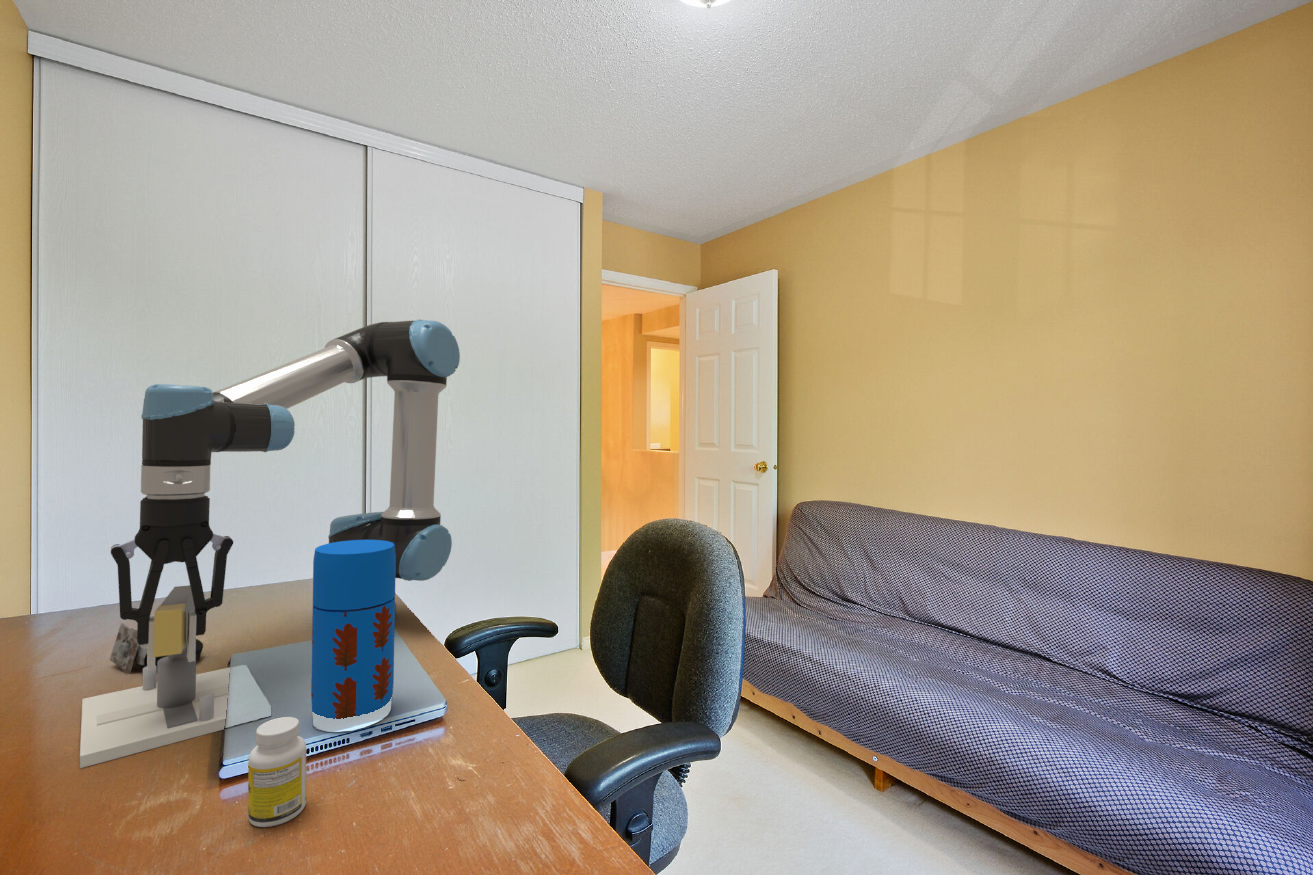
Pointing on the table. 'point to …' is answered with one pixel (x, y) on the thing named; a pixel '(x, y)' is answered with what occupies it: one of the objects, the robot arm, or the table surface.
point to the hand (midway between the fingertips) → (171, 661)
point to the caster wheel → (136, 650)
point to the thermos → (353, 627)
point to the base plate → (154, 711)
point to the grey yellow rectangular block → (173, 623)
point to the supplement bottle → (277, 773)
